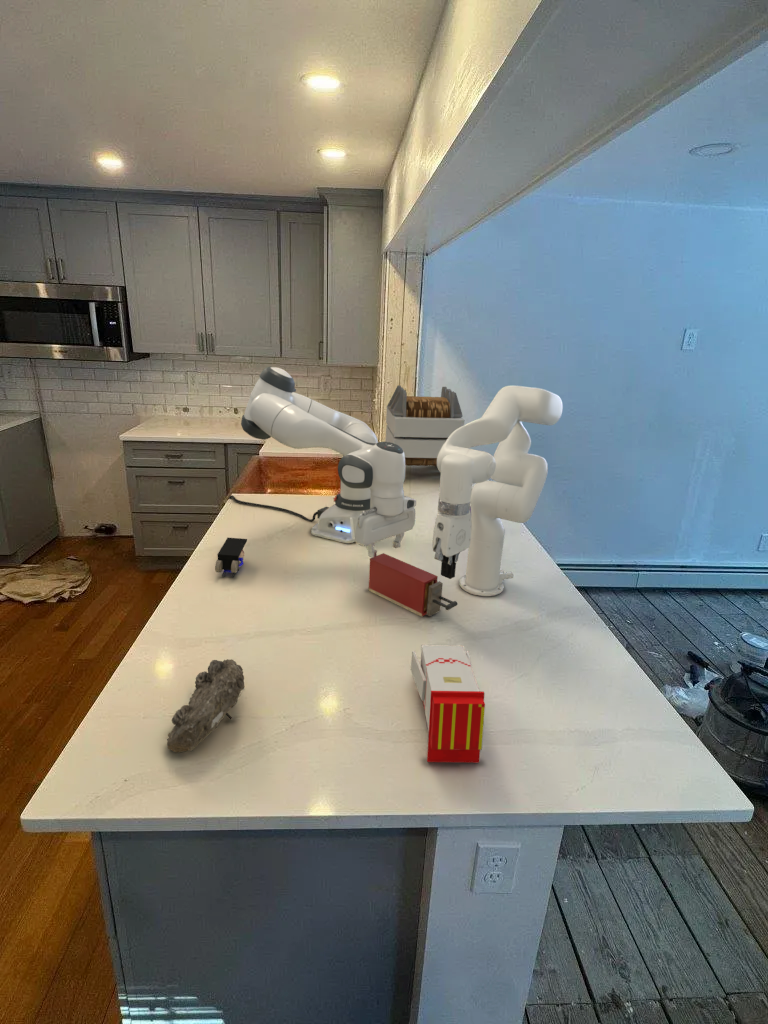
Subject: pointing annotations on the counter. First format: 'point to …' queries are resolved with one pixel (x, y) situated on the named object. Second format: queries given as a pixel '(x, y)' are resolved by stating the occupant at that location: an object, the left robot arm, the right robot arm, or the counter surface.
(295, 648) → the counter surface
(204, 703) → the fossil
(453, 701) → the toy
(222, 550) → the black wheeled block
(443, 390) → the transformer
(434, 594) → the drawer
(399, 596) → the cabinet
